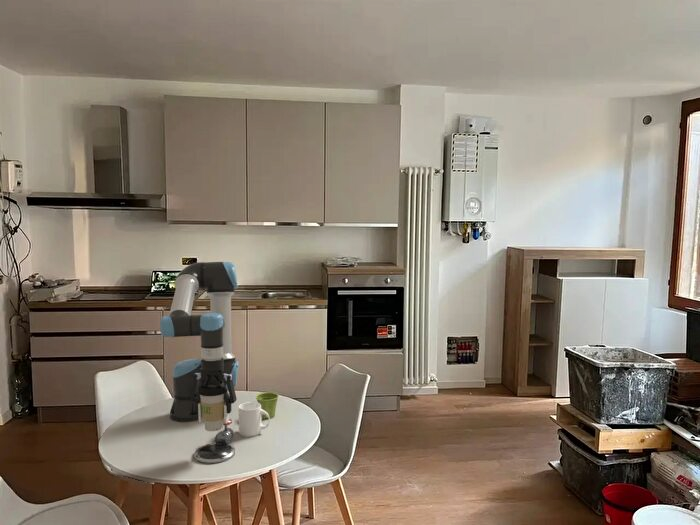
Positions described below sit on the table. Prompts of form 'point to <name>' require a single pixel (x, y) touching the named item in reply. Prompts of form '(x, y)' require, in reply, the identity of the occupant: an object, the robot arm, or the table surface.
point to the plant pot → (268, 403)
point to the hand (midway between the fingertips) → (214, 421)
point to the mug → (251, 419)
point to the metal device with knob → (217, 448)
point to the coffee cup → (213, 406)
